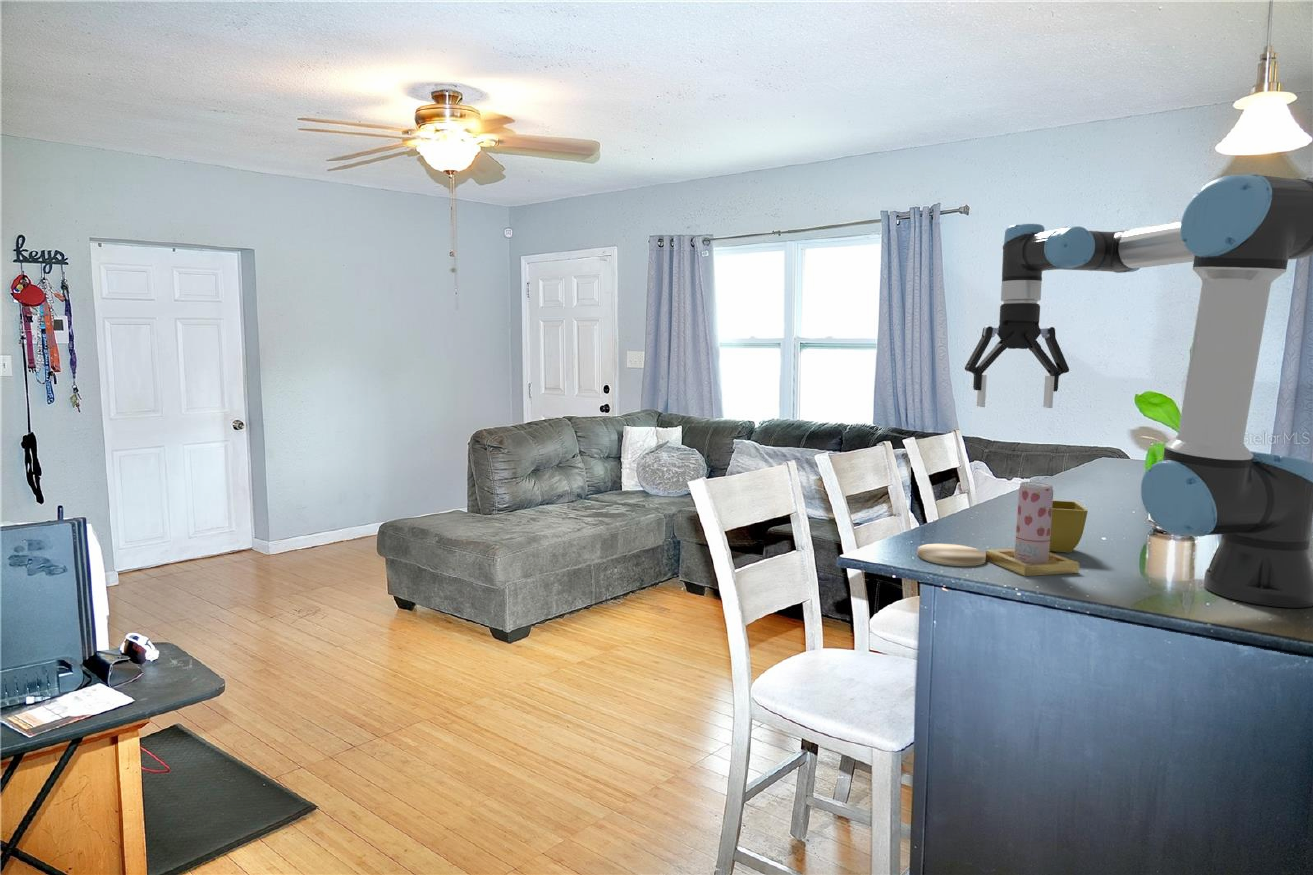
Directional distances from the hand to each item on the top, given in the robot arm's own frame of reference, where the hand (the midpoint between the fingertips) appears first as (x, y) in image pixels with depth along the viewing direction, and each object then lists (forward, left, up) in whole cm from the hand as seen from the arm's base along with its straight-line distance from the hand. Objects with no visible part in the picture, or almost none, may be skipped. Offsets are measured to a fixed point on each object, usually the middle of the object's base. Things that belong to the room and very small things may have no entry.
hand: (1014, 407), depth 175 cm
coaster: (-15, +23, -27) cm, 38 cm away
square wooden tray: (-23, +12, -27) cm, 37 cm away
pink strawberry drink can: (-23, +12, -27) cm, 37 cm away
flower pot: (-13, -1, -27) cm, 30 cm away
